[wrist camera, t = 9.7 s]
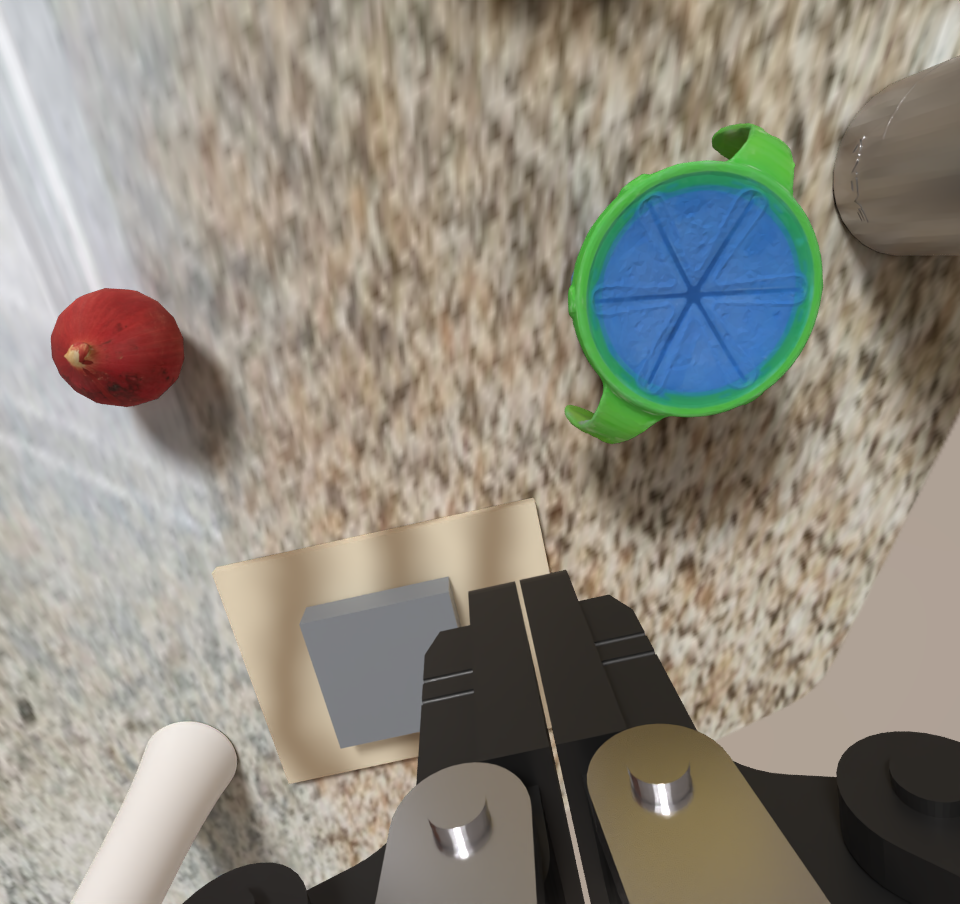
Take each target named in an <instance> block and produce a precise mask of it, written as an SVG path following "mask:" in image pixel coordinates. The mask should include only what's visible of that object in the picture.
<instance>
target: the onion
mask: <svg viewBox="0 0 960 904" xmlns="http://www.w3.org/2000/svg"><path fill="white" fill-rule="evenodd" d="M51 349H52V358H53V361H54V363H55V365H56V367H57V369H58V371H59V374H60V375H61V376H62V378H63V379H64V380H65V381H66V382H67V383H68V384H69V385H70V386H71V387H72V388H73V389H74V390H75V391H76V392H78V393H80V394H82V395H83V396H85V397H87V398H89V399H91V400H93V401H94V402H96V403H100V404H107V405H115V406H124V407H129V406H135V405H139V404H142V403H145V402H148V401H152V400H155V399H158V398H159V397H160V396H161V395H162V394H163V393H164V392H165V391H166V390H167V389H168V388H169V387H170V386H171V385H172V384H174V383H175V381H176V380H177V379H178V377H179V374H180V371H181V367H182V364H183V361H184V347H183V337H182V334H181V332H180V330H179V328H178V326H177V324H176V321H175V319H174V317H173V316H172V315H171V314H170V313H169V312H168V311H167V310H166V309H165V308H164V307H163V306H162V305H161V304H160V303H159V302H158V301H156V300H154V299H152V298H150V297H148V296H146V295H144V294H142V293H140V292H138V291H134V290H126V289H109V288H104V289H101V290H98V291H95V292H92V293H89V294H86V295H83V296H81V297H79V298H77V299H76V300H75V301H74V302H73V303H72V304H71V305H69V306H68V307H67V308H66V309H65V310H64V311H63V312H62V313H61V314H60V315H59V316H58V319H57V322H56V324H55V327H54V329H53V332H52V335H51Z"/></svg>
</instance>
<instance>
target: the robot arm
mask: <svg viewBox="0 0 960 904" xmlns="http://www.w3.org/2000/svg"><path fill="white" fill-rule="evenodd" d="M833 188H834V194H835V200H836V205H837V208H838V210H839V213H840V215H841V218H842V220H843V222H844V223H845V225H846V226H847V228H848V229H849V231H850V232H851V233H852V235H853V236H855V237H856V238H857V239H858V240H859V241H860V242H861V243H863V244H864V245H865V246H867V247H869V248H871V249H873V250H875V251H877V252H880V253H884V254H889V255H893V256H926V255H950V256H960V56H957V57H955V58H952V59H950V60H947V61H945V62H942V63H940V64H938V65H935V66H933V67H930V68H928V69H925V70H923V71H921V72H918V73H916V74H913V75H911V76H908V77H906V78H904V79H902V80H899V81H897V82H895V83H893V84H891V85H888V86H887V87H886V88H884V89H883V90H882V91H880V92H879V93H877V94H876V95H875V96H873V97H872V98H871V99H870V100H869V101H868V102H867V103H866V104H865V105H864V106H863V107H862V108H861V110H860V111H859V112H858V113H857V114H856V116H855V117H854V119H853V120H852V122H851V124H850V125H849V127H848V128H847V130H846V132H845V134H844V137H843V139H842V141H841V144H840V146H839V148H838V153H837V157H836V161H835V166H834V183H833ZM519 581H520V585H521V590H522V594H523V599H524V603H525V608H526V613H527V617H528V622H529V626H530V631H531V635H532V640H533V644H534V649H535V653H536V658H537V662H538V667H539V671H540V676H541V680H542V685H543V689H544V694H545V698H546V703H547V707H548V712H549V716H550V721H551V726H552V730H553V735H554V739H555V744H556V748H557V753H558V757H559V762H560V766H561V771H562V775H563V780H564V784H565V789H566V793H567V798H568V802H569V807H570V811H571V815H572V820H573V824H574V829H575V834H576V838H577V843H578V847H579V852H580V856H581V861H582V865H583V870H584V874H585V879H586V883H587V888H588V893H589V897H590V902H591V904H960V742H958V741H955V740H951V739H948V738H945V737H941V736H937V735H931V734H927V733H918V732H887V733H880V734H876V735H872V736H869V737H866V738H865V739H862V740H860V741H858V742H856V743H855V744H853V745H852V746H850V747H849V748H848V749H847V750H846V751H845V753H844V754H843V755H842V757H841V759H840V761H839V763H838V767H837V772H836V773H837V777H823V776H805V775H786V774H777V773H769V772H765V771H760V770H756V769H753V768H750V767H746V766H743V765H741V764H739V763H736V762H734V761H732V759H731V758H730V756H729V755H728V754H727V753H726V751H725V750H724V749H723V748H722V747H721V746H720V745H719V744H717V743H716V742H715V741H714V740H713V739H711V738H709V737H708V736H706V735H704V734H702V733H700V732H698V731H697V730H696V728H695V726H694V724H693V722H692V720H691V718H690V717H689V715H688V713H687V711H686V709H685V707H684V705H683V703H682V701H681V700H680V698H679V696H678V694H677V692H676V690H675V688H674V686H673V685H672V683H671V681H670V679H669V677H668V675H667V673H666V671H665V669H664V668H663V666H662V664H661V662H660V660H659V658H658V656H657V654H656V655H655V652H654V649H653V647H652V645H651V643H650V641H649V639H648V637H647V636H645V633H644V630H643V628H642V626H641V624H640V622H639V620H638V619H637V617H636V615H635V613H634V611H633V610H632V609H631V608H629V607H628V606H626V605H625V604H623V603H621V602H620V601H618V600H617V599H615V598H614V597H612V596H610V595H605V596H601V597H596V598H591V599H587V600H582V601H578V599H577V596H576V594H575V591H574V588H573V586H572V583H571V581H570V578H569V575H568V573H567V571H566V570H563V571H558V572H554V573H549V574H545V575H540V576H535V577H531V578H526V579H522V580H519ZM468 599H469V617H470V625H468V626H463V627H459V628H454V629H449V630H445V631H440V632H439V634H438V635H437V637H436V638H435V640H434V641H433V643H432V644H431V646H430V647H429V649H428V651H427V652H426V654H425V657H424V673H423V681H424V684H423V689H422V704H423V705H421V720H420V736H419V752H418V768H417V784H416V786H415V787H414V788H413V789H412V790H411V791H410V792H409V793H408V794H407V795H406V796H405V797H404V799H403V800H402V802H401V803H400V805H399V806H398V807H397V810H396V812H395V814H394V816H393V818H392V822H391V825H390V829H389V834H388V839H387V843H386V844H385V845H384V846H383V847H382V848H380V849H379V850H378V851H377V852H375V853H374V854H373V855H371V856H370V857H369V858H367V859H366V860H364V861H362V862H360V863H359V864H357V865H355V866H354V867H352V868H350V869H348V870H346V871H344V872H342V873H340V874H338V875H336V876H334V877H332V878H330V879H328V880H326V881H324V882H322V883H320V884H318V885H317V886H315V887H313V888H311V889H309V890H306V888H305V885H304V882H303V881H302V880H301V878H300V877H299V875H298V874H297V873H296V872H294V871H293V870H292V869H291V868H288V867H286V866H284V865H281V864H276V863H256V864H250V865H246V866H243V867H240V868H236V869H234V870H232V871H229V872H227V873H225V874H223V875H221V876H219V877H218V878H216V879H214V880H212V881H211V882H209V883H208V884H206V885H205V886H203V887H202V888H201V889H199V890H198V891H197V892H195V893H194V894H193V895H192V896H191V897H190V898H189V899H187V900H186V901H185V902H184V903H183V904H585V902H584V898H583V893H582V888H581V883H580V879H579V874H578V870H577V865H576V860H575V855H574V850H573V846H572V841H571V837H570V832H569V827H568V823H567V818H566V813H565V808H564V803H563V798H562V794H561V789H560V784H559V780H558V775H557V770H556V765H555V761H554V756H553V751H552V747H551V742H550V737H549V732H548V728H547V723H546V718H545V713H544V709H543V704H542V700H541V695H540V690H539V686H538V681H537V677H536V672H535V668H534V663H533V659H532V654H531V650H530V645H529V641H528V636H527V632H526V627H525V623H524V618H523V614H522V609H521V605H520V600H519V596H518V592H517V587H516V583H515V581H513V582H509V583H504V584H499V585H495V586H490V587H486V588H481V589H476V590H472V591H468Z"/></svg>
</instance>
